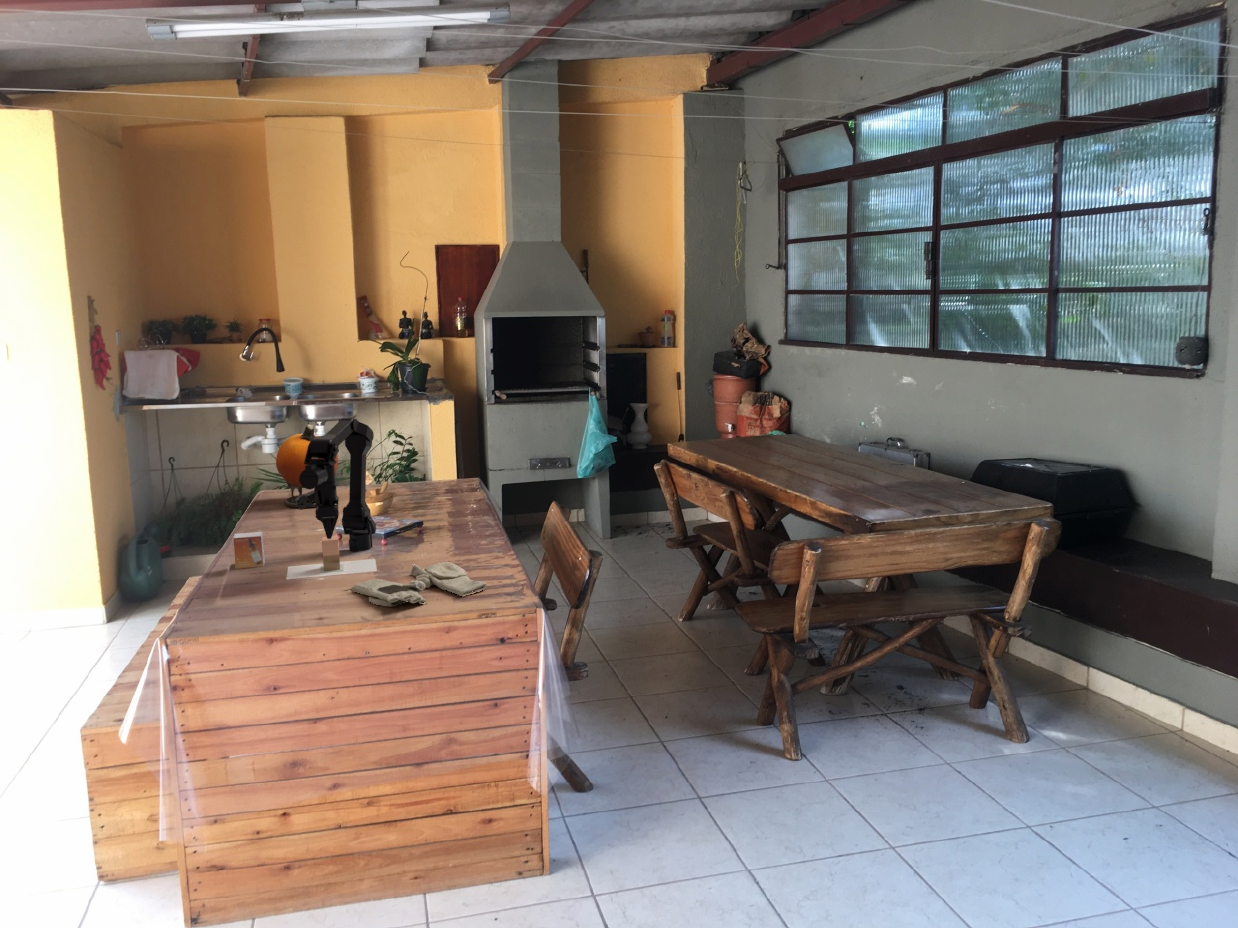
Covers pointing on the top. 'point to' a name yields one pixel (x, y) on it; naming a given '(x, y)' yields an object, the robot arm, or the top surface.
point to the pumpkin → (295, 461)
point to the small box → (248, 550)
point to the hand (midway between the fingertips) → (329, 534)
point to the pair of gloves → (419, 585)
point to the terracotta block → (330, 546)
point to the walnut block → (331, 562)
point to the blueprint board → (318, 570)
